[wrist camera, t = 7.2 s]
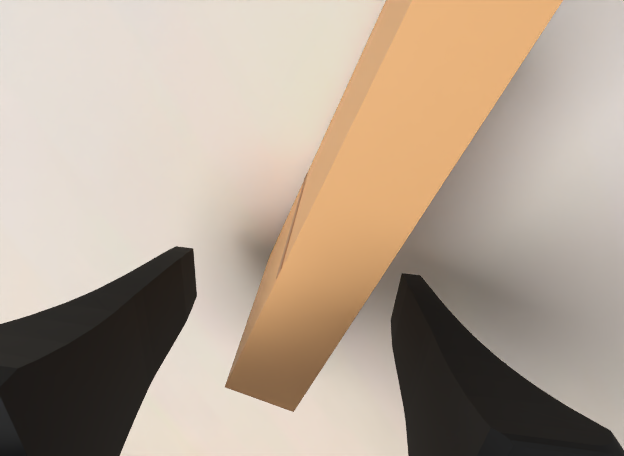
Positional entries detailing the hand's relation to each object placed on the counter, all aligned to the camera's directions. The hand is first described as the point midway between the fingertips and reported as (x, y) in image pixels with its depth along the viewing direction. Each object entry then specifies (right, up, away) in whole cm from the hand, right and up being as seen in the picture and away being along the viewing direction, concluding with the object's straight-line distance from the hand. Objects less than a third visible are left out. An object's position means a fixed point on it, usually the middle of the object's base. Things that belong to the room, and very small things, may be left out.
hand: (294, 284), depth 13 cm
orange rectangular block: (+2, +5, +1) cm, 5 cm away
